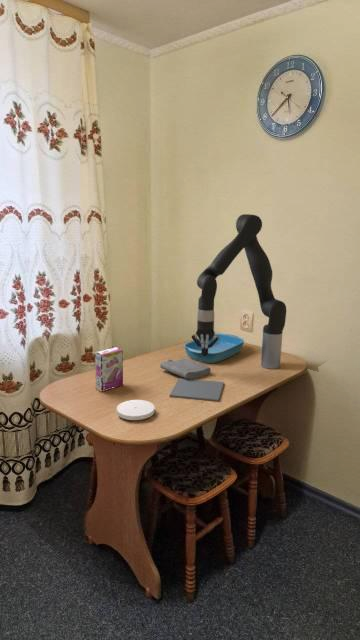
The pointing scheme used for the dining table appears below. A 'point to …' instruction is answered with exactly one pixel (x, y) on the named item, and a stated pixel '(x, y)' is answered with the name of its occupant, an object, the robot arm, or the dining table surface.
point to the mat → (197, 389)
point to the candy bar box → (109, 368)
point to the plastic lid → (135, 409)
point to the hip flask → (185, 368)
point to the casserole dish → (215, 348)
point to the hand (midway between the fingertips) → (204, 355)
